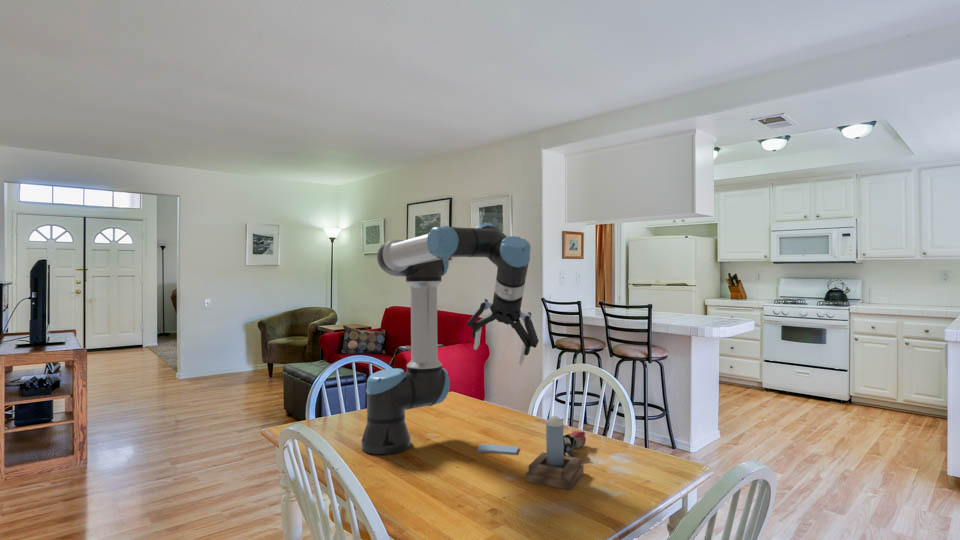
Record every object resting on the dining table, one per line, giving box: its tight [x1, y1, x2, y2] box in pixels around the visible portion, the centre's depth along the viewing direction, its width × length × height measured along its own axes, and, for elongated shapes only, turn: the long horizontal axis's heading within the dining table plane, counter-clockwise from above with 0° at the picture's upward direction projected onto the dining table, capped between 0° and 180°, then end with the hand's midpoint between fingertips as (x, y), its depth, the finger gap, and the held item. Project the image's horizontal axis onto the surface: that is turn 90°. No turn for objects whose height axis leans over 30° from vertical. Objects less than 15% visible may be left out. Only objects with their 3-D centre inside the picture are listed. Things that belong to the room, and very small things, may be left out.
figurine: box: [563, 430, 587, 457], centre depth 153 cm, size 7×17×7 cm, turn 155°
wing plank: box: [476, 443, 520, 456], centre depth 156 cm, size 12×5×1 cm, turn 76°
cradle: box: [525, 451, 584, 491], centre depth 135 cm, size 12×12×4 cm
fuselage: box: [545, 415, 564, 468], centre depth 135 cm, size 4×4×14 cm
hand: (498, 354), depth 145 cm, fingers open, 13 cm apart
